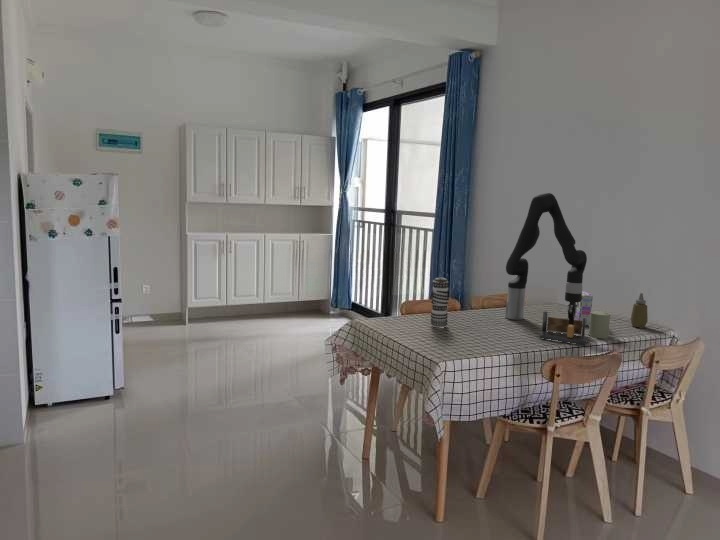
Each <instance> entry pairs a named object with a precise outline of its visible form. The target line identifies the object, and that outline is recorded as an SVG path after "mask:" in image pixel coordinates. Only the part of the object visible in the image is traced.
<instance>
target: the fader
mask: <svg viewBox="0 0 720 540" xmlns="http://www.w3.org/2000/svg"><path fill="white" fill-rule="evenodd" d="M573 336H574V325H570V324H569V325H568V329H567V337H570V338H572V337H573Z"/></svg>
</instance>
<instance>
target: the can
mask: <svg viewBox="0 0 720 540" xmlns="http://www.w3.org/2000/svg"><path fill="white" fill-rule="evenodd" d="M610 321H611V313H610V312H606V311H602V310H601V311H600V310H591V312H590V326H588V328H589V329H588V334H589V335H590V336H589V335H588V336H589V337H591V336H593V337H592V338H595V337H598V338H597V339H608V338H609V336H610V335H609V333H610ZM607 337H608V338H607Z"/></svg>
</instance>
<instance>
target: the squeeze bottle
mask: <svg viewBox="0 0 720 540" xmlns="http://www.w3.org/2000/svg"><path fill="white" fill-rule="evenodd" d="M646 302H647V301H646V300H645V299H644V293H642V292H640V293H639V296H638V298H637V299H635V303H634V304H633V306H632V310H631V314H630V323H631V326H632V327H633V326H634V327H633V328H636V327H644V328H646V325H647V323H648V305H647V303H646Z"/></svg>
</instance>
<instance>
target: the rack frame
mask: <svg viewBox="0 0 720 540" xmlns="http://www.w3.org/2000/svg"><path fill="white" fill-rule="evenodd" d="M548 314H549V313H548V311H545V310H544V311H542V327H541V328H542V329H541V332H543V331H546V332H547V331H548V332H556V333H563V334H567V333H565V332H557V331H549V330H547V324H548ZM585 322H586V318H583V326H582V332H581V335H582V336H584V337H585V333H586V326H585Z"/></svg>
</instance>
